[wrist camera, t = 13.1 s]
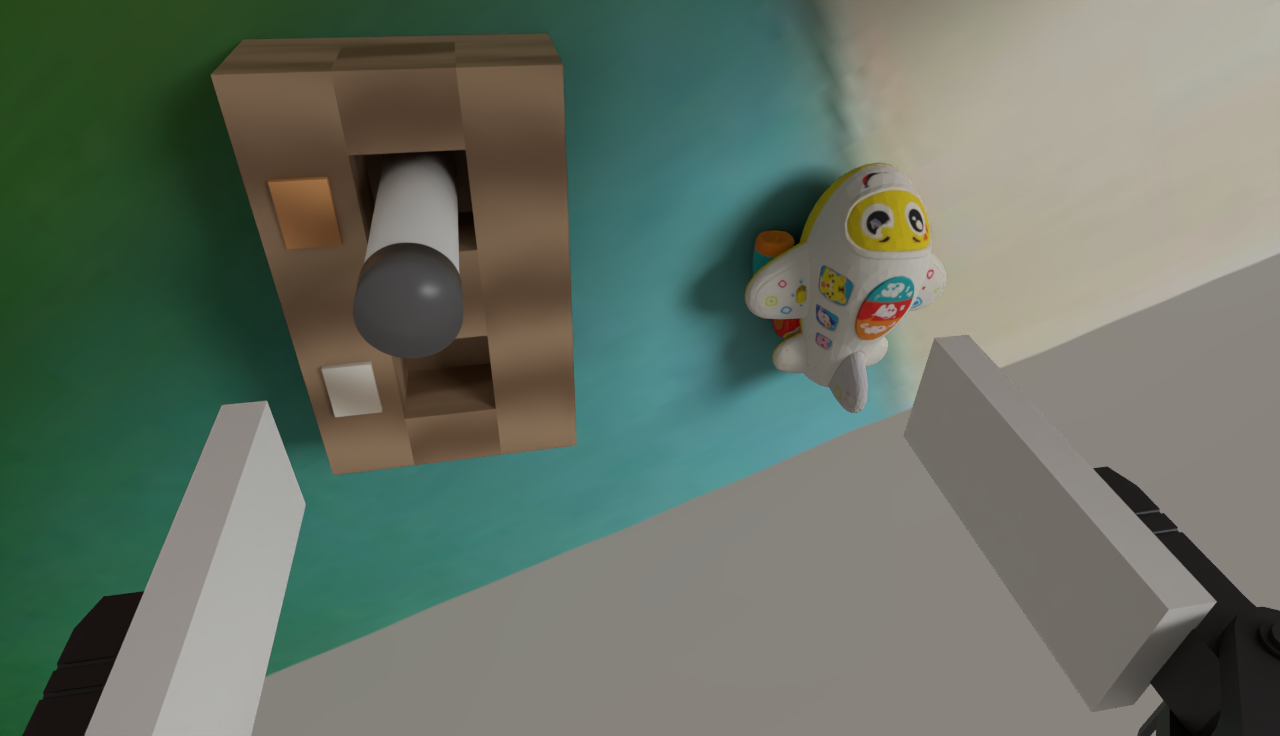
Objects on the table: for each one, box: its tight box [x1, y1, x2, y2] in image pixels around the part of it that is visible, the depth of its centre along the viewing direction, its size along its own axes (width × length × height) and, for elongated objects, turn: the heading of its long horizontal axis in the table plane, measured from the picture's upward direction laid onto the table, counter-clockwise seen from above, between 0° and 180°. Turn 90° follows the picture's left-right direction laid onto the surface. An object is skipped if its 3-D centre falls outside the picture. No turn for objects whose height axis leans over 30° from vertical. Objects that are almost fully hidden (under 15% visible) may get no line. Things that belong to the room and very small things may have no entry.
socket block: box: [211, 33, 576, 475], centre depth 39 cm, size 22×14×6 cm, turn 179°
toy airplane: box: [745, 163, 947, 413], centre depth 45 cm, size 13×9×15 cm
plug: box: [353, 150, 463, 358], centre depth 32 cm, size 4×4×14 cm
